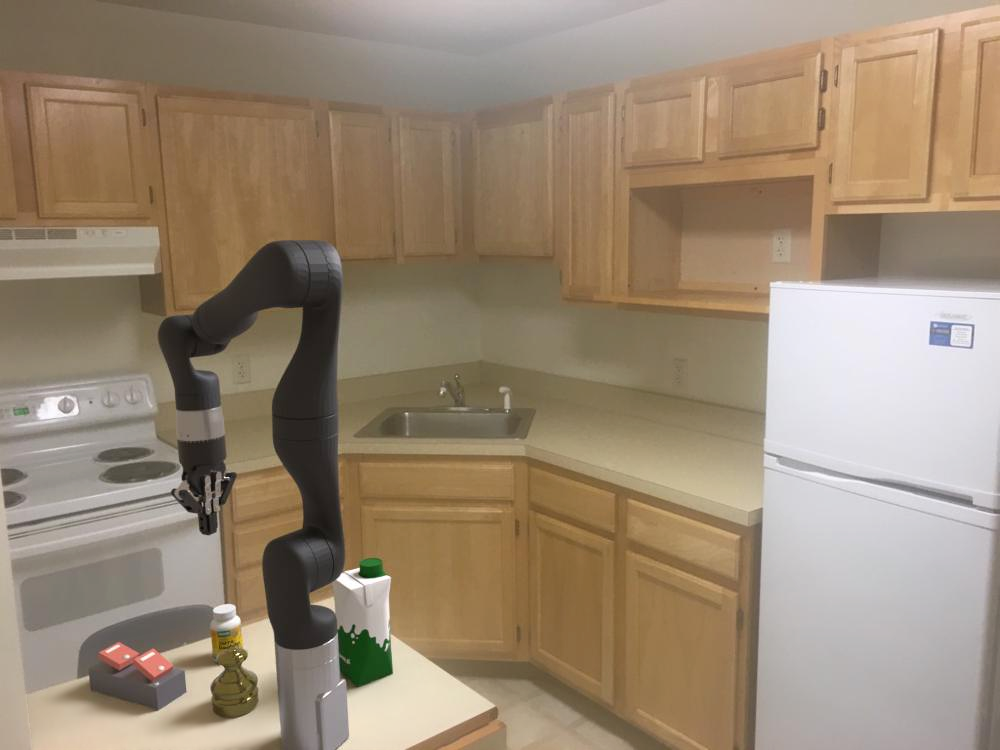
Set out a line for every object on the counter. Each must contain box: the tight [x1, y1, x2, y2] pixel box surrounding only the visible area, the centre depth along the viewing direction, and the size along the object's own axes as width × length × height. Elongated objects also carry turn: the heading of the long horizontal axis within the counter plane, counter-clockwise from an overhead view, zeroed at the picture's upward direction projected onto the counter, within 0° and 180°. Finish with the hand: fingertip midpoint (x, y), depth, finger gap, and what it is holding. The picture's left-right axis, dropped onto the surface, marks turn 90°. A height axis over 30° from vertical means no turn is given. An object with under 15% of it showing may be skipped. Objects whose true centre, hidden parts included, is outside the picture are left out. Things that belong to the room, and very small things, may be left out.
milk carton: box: [331, 557, 394, 688], centre depth 138 cm, size 9×9×20 cm
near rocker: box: [132, 648, 175, 682], centre depth 133 cm, size 5×4×2 cm
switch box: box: [87, 660, 188, 711], centre depth 135 cm, size 16×6×4 cm, turn 65°
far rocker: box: [98, 641, 140, 670], centre depth 136 cm, size 5×4×2 cm
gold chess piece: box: [210, 647, 260, 718], centre depth 130 cm, size 7×7×10 cm
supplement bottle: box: [209, 603, 244, 663], centre depth 146 cm, size 5×5×10 cm
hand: (209, 533), depth 134 cm, fingers closed
